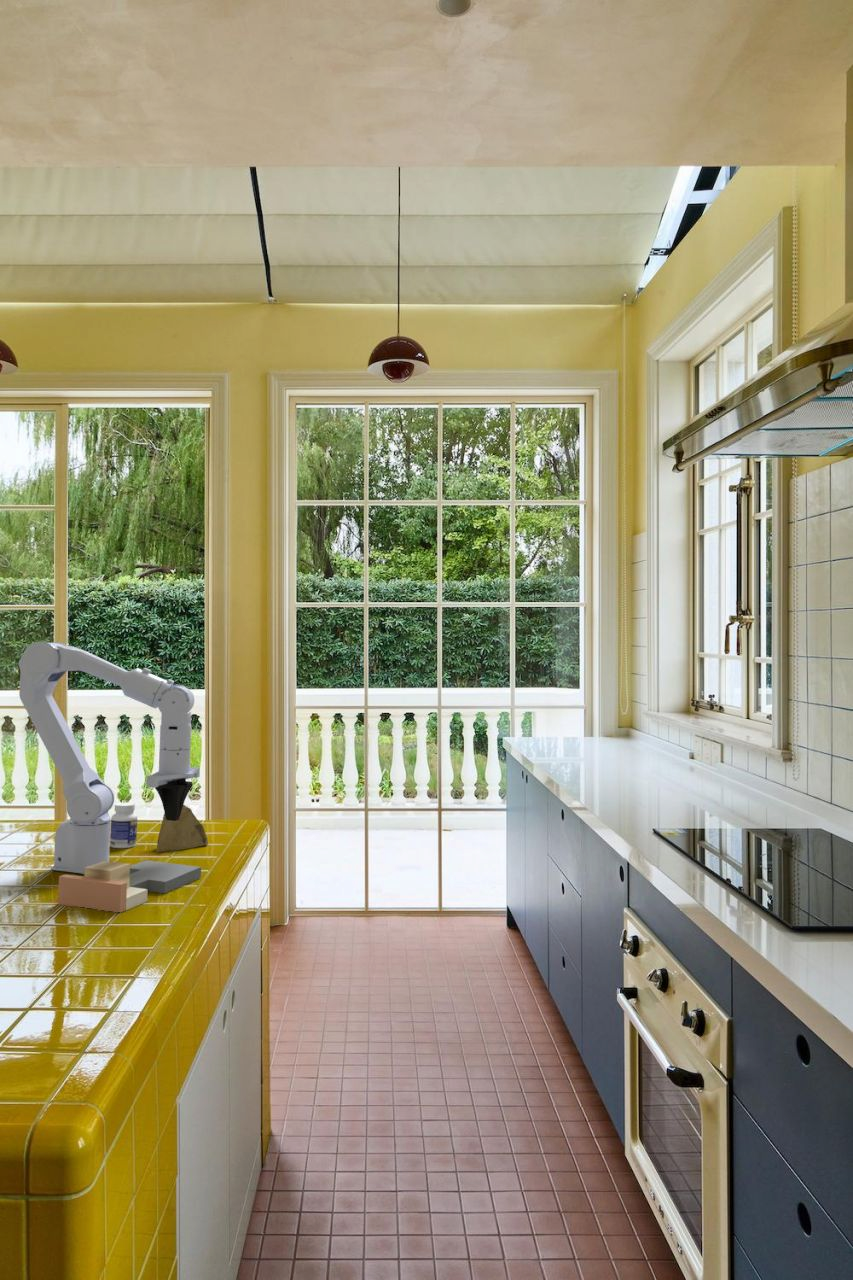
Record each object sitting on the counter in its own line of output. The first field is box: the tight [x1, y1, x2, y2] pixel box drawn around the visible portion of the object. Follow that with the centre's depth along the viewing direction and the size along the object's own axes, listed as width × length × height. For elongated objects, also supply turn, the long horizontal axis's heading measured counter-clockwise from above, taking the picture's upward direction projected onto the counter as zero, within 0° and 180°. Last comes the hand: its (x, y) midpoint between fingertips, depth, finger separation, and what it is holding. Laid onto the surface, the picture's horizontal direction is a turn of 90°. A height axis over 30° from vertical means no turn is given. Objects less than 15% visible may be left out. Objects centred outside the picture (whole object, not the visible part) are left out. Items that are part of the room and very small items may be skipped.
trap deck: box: [57, 859, 202, 913], centre depth 146 cm, size 12×23×4 cm, turn 162°
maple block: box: [83, 860, 131, 889], centre depth 139 cm, size 5×5×4 cm
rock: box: [156, 804, 209, 853], centre depth 178 cm, size 11×9×10 cm
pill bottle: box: [110, 802, 138, 849], centre depth 179 cm, size 5×5×9 cm
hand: (172, 819), depth 161 cm, fingers closed
